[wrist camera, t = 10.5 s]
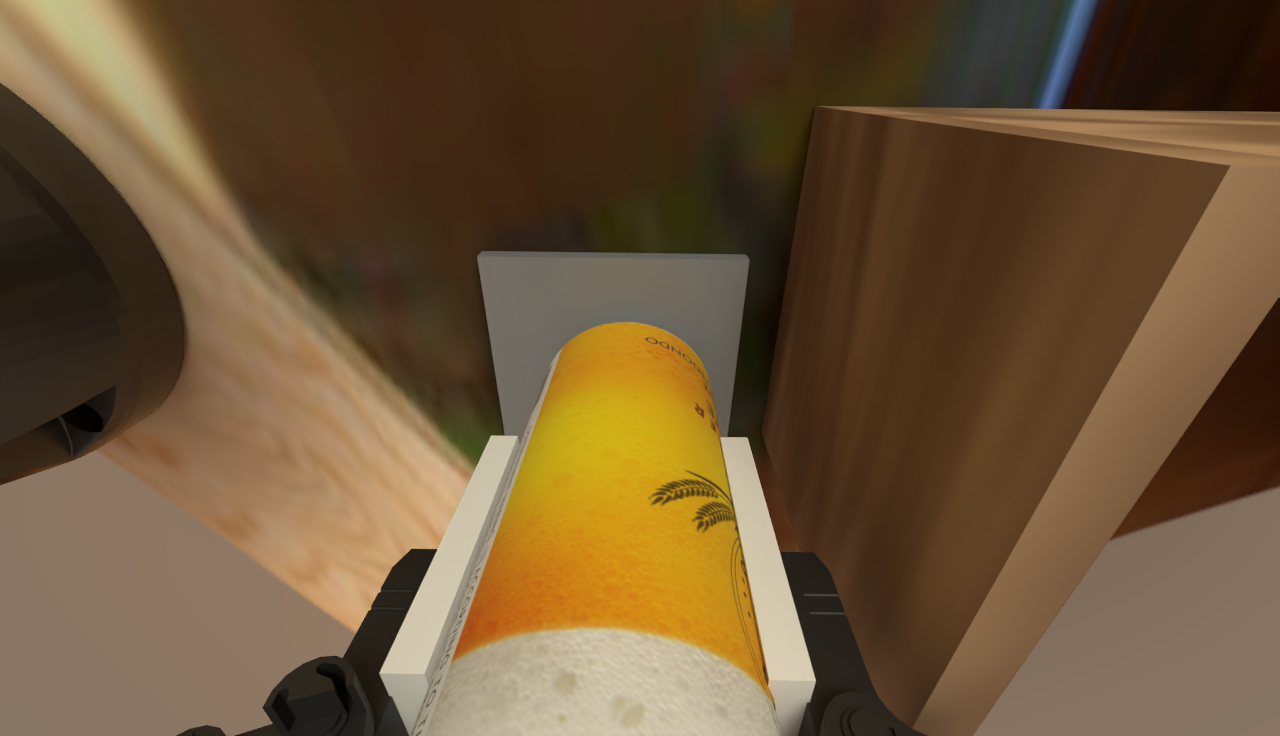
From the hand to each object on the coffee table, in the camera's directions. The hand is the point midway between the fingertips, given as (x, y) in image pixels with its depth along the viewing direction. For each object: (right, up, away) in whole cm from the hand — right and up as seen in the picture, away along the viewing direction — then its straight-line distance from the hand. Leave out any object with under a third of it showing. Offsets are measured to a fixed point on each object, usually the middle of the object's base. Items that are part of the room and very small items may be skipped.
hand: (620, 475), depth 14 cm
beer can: (0, +3, +5) cm, 5 cm away
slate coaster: (0, +3, +5) cm, 6 cm away
